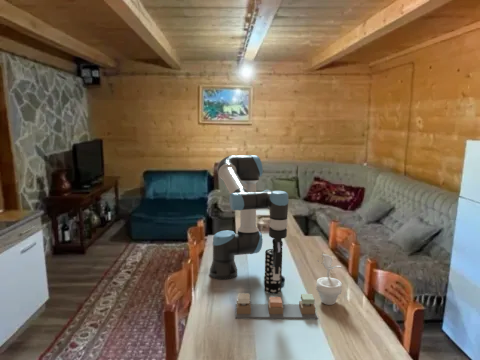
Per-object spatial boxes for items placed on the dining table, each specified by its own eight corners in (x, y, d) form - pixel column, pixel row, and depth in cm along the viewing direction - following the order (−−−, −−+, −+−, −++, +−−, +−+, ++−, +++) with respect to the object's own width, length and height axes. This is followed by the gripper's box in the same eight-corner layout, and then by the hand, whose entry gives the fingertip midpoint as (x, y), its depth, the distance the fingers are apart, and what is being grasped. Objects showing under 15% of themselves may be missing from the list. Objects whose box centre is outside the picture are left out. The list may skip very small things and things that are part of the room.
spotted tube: (271, 284, 188) (272, 247, 185) (284, 290, 182) (285, 252, 179) (260, 289, 183) (261, 251, 179) (273, 295, 177) (274, 256, 173)
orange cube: (269, 307, 164) (269, 296, 163) (280, 307, 164) (280, 296, 163) (270, 313, 159) (270, 302, 158) (281, 313, 159) (282, 302, 158)
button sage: (300, 304, 164) (300, 293, 163) (311, 304, 164) (312, 294, 163) (302, 310, 159) (303, 299, 158) (314, 310, 159) (314, 299, 158)
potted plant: (310, 298, 175) (313, 248, 170) (330, 294, 179) (333, 245, 175) (326, 311, 163) (329, 257, 159) (347, 306, 168) (351, 254, 164)
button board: (235, 305, 167) (235, 297, 166) (312, 306, 168) (312, 298, 167) (235, 318, 156) (235, 310, 155) (317, 319, 157) (318, 310, 156)
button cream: (237, 304, 164) (238, 293, 163) (249, 304, 164) (249, 293, 163) (238, 310, 159) (238, 299, 158) (249, 310, 159) (249, 299, 158)
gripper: (267, 222, 162) (266, 273, 166) (270, 232, 149) (268, 286, 153) (284, 223, 162) (282, 273, 166) (289, 232, 149) (286, 286, 153)
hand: (276, 279), depth 160 cm, fingers closed
